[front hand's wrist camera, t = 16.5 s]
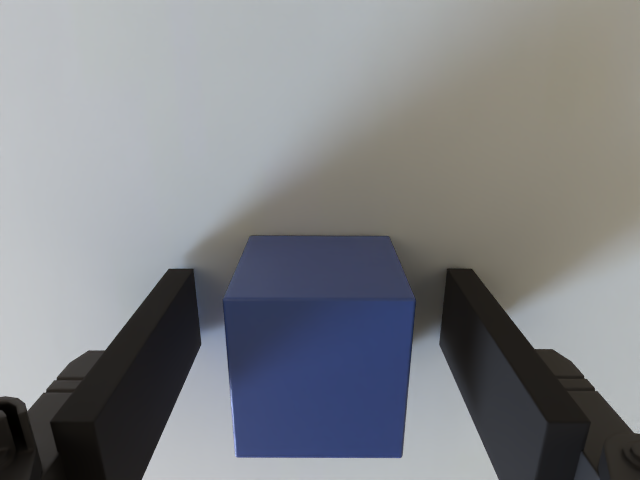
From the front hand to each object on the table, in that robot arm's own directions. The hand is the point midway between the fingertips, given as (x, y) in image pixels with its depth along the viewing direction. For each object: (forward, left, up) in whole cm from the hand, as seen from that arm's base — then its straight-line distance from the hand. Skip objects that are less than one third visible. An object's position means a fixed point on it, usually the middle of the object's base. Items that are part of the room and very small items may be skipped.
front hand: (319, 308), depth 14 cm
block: (0, 0, 0) cm, 0 cm away
